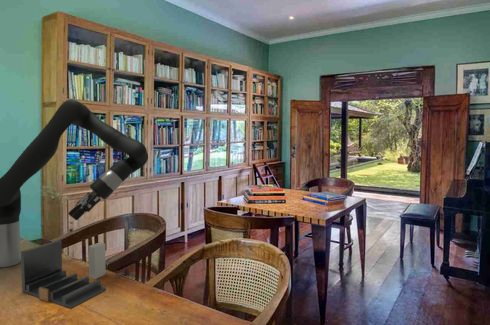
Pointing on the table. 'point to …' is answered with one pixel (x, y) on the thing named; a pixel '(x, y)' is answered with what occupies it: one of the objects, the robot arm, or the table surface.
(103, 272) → the light grey block
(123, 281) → the table surface
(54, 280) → the rack
